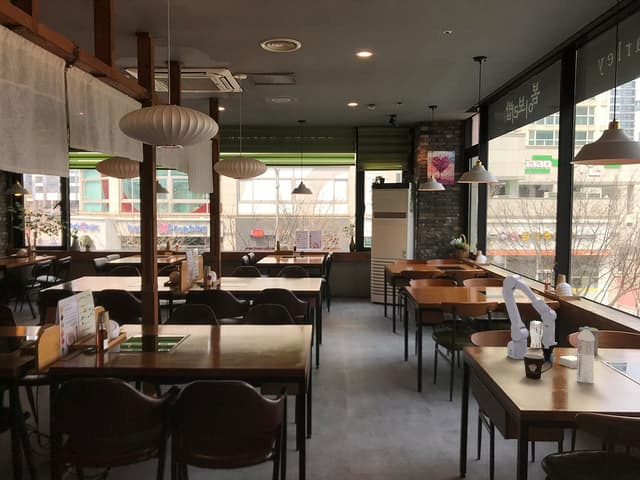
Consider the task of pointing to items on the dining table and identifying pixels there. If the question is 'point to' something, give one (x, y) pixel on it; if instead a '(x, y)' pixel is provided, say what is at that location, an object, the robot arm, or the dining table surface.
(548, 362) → the blue cube
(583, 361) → the water bottle
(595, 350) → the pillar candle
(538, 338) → the beer glass
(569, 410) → the dining table surface
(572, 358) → the cream block
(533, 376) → the coffee mug
